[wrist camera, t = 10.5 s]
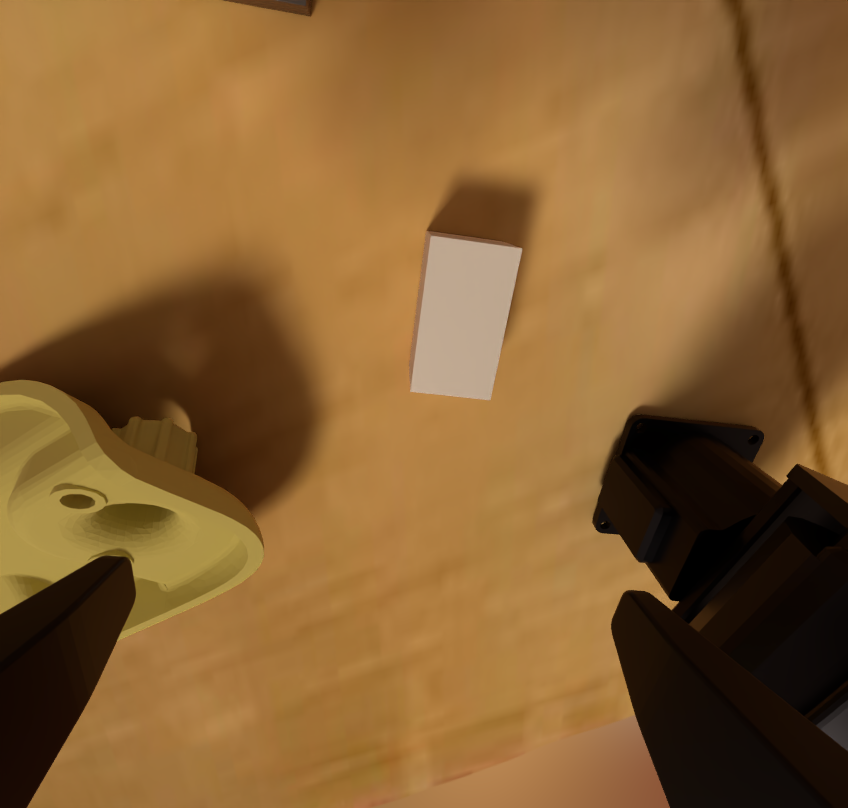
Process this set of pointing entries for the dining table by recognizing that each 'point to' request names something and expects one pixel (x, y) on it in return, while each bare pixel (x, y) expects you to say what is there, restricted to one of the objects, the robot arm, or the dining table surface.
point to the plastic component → (113, 506)
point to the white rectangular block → (461, 314)
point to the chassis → (281, 5)
